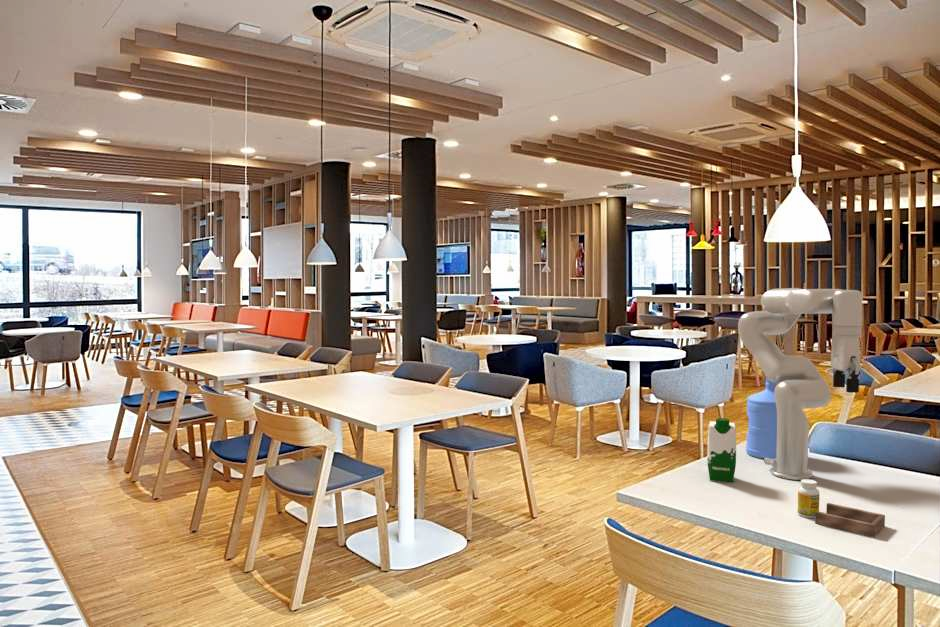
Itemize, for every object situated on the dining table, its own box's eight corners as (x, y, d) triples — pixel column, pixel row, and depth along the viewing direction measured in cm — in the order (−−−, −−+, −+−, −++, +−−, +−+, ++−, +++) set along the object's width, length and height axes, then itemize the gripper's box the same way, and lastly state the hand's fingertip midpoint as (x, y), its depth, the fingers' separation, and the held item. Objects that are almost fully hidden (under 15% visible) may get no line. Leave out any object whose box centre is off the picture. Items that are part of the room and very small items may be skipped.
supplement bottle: (804, 510, 197) (805, 477, 196) (822, 516, 192) (823, 482, 192) (793, 514, 194) (794, 480, 193) (811, 520, 189) (812, 485, 189)
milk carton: (706, 481, 224) (708, 419, 223) (707, 473, 232) (708, 414, 231) (736, 484, 221) (737, 421, 220) (735, 476, 230) (736, 416, 228)
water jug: (802, 458, 250) (804, 381, 248) (765, 462, 246) (767, 383, 244) (771, 448, 265) (773, 375, 263) (736, 451, 261) (738, 376, 259)
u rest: (815, 523, 187) (815, 512, 187) (827, 513, 194) (828, 502, 194) (873, 537, 177) (874, 525, 177) (884, 526, 185) (885, 515, 184)
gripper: (822, 329, 214) (821, 385, 215) (845, 334, 197) (843, 394, 198) (848, 329, 213) (846, 385, 214) (873, 334, 196) (872, 394, 197)
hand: (845, 389), depth 206 cm, fingers open, 9 cm apart
